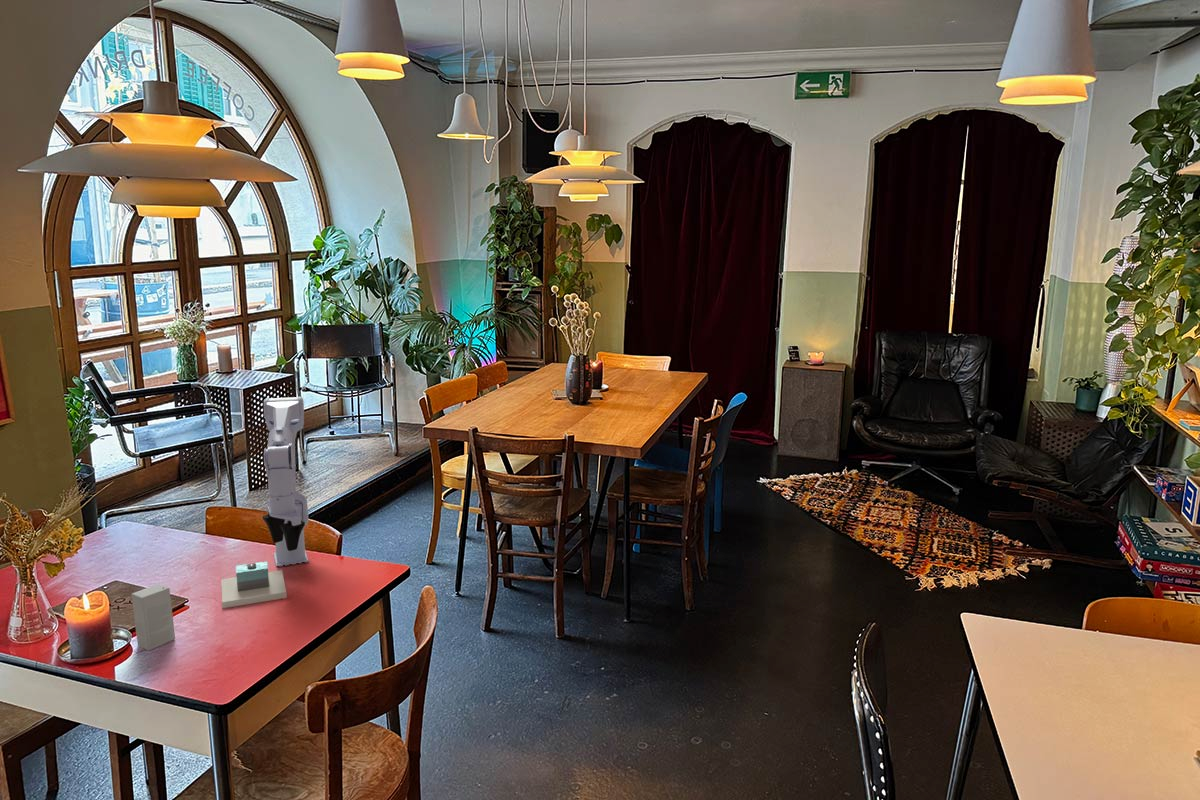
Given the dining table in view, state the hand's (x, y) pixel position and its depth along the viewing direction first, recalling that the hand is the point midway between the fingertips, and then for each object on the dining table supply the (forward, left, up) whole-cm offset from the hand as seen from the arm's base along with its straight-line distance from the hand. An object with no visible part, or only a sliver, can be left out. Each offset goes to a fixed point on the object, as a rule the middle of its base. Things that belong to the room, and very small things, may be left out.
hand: (285, 545), depth 202 cm
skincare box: (+22, -28, -10) cm, 37 cm away
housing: (+3, -8, -8) cm, 12 cm away
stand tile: (+3, -8, -9) cm, 13 cm away
